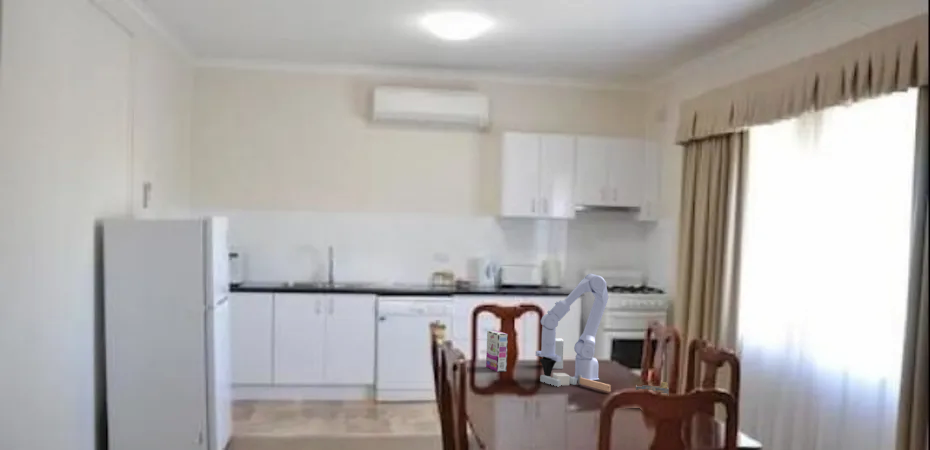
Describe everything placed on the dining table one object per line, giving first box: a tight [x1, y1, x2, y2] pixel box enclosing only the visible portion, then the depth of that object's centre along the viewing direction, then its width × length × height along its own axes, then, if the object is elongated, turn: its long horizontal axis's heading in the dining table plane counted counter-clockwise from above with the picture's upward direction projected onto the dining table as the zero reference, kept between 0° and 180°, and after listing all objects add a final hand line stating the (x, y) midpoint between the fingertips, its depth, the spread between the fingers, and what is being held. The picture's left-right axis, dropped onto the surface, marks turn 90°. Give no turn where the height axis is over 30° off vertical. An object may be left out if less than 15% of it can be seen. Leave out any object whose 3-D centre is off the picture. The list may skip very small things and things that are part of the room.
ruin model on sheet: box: [635, 381, 669, 395], centre depth 270 cm, size 11×3×10 cm, turn 80°
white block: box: [552, 372, 570, 386], centre depth 303 cm, size 5×6×4 cm
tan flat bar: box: [577, 375, 612, 392], centre depth 295 cm, size 17×1×4 cm, turn 37°
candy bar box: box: [485, 330, 509, 373], centre depth 327 cm, size 11×5×16 cm, turn 25°
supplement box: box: [553, 337, 565, 370], centre depth 336 cm, size 7×7×13 cm
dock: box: [539, 374, 578, 388], centre depth 304 cm, size 10×11×2 cm
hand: (547, 376), depth 310 cm, fingers closed
